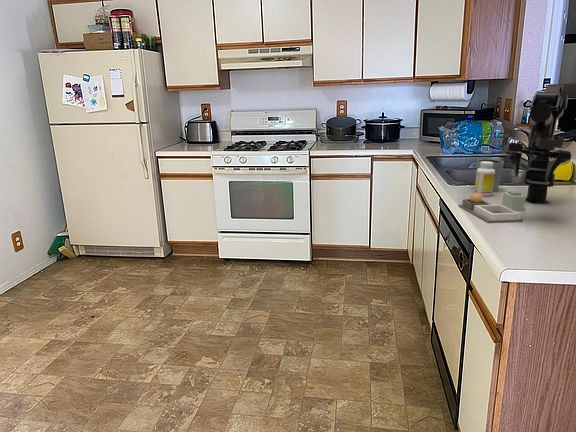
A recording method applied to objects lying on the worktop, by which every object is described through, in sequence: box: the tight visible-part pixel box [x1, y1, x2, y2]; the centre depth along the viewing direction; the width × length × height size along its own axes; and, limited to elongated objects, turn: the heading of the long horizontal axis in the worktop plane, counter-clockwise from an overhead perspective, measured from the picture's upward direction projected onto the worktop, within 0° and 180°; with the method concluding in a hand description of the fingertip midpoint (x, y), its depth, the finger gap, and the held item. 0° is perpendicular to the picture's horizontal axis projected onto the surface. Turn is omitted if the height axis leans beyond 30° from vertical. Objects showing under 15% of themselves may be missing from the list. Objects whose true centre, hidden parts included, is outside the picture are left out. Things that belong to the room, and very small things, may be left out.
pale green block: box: [501, 190, 527, 211], centre depth 156 cm, size 6×4×6 cm
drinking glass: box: [476, 158, 505, 192], centre depth 182 cm, size 10×10×12 cm
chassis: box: [457, 198, 523, 224], centre depth 149 cm, size 20×12×3 cm, turn 6°
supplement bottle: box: [473, 161, 495, 197], centre depth 174 cm, size 7×7×13 cm
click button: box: [469, 192, 484, 203], centre depth 154 cm, size 4×4×3 cm
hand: (531, 179), depth 142 cm, fingers open, 9 cm apart
